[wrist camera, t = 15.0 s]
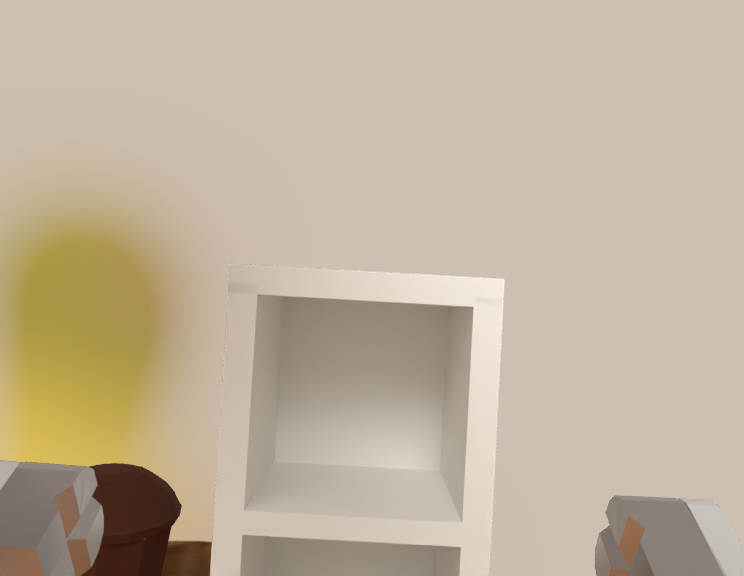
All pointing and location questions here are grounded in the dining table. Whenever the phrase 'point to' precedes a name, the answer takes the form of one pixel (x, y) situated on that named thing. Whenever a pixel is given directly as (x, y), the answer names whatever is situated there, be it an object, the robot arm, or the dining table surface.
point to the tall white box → (357, 423)
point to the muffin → (133, 520)
